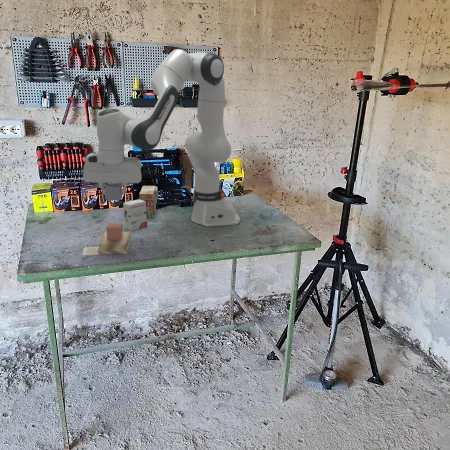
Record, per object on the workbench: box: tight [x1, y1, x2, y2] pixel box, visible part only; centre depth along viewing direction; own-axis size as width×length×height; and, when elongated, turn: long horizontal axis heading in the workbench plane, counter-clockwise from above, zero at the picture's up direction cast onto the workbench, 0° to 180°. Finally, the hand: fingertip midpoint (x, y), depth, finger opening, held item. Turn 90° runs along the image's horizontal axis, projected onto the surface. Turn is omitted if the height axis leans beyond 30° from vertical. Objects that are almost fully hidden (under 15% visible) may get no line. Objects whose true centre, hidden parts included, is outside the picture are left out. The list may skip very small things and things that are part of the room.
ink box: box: [122, 198, 148, 232], centre depth 178 cm, size 9×5×12 cm, turn 134°
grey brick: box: [104, 183, 123, 201], centre depth 152 cm, size 5×5×5 cm
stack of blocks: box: [138, 185, 159, 220], centre depth 198 cm, size 21×6×12 cm, turn 3°
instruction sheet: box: [81, 246, 101, 257], centre depth 157 cm, size 9×7×1 cm
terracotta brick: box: [105, 222, 124, 241], centre depth 158 cm, size 5×5×5 cm
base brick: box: [98, 231, 132, 255], centre depth 160 cm, size 10×12×4 cm
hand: (113, 194), depth 152 cm, fingers closed on grey brick, 5 cm apart
